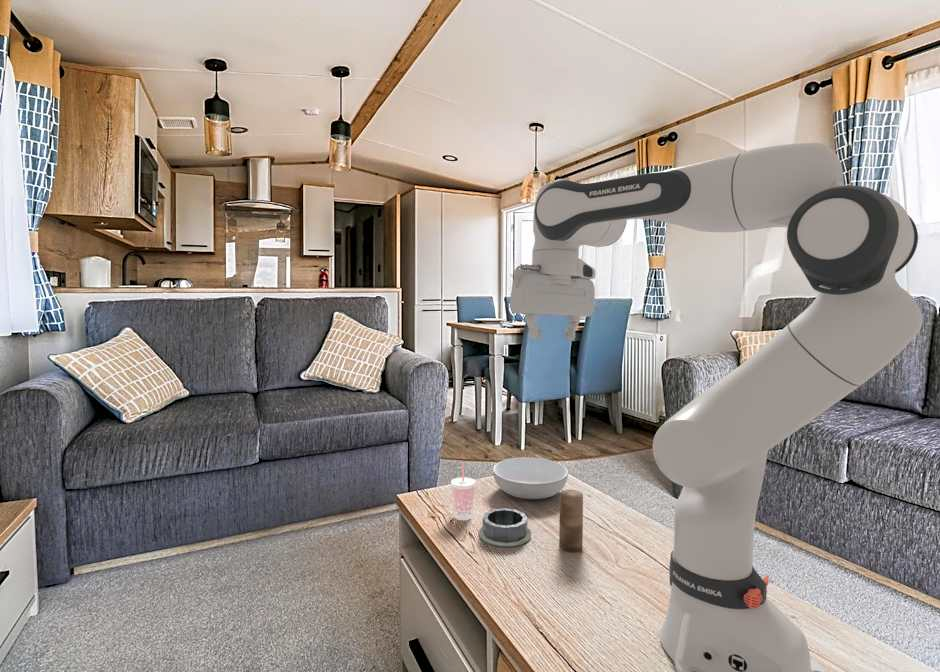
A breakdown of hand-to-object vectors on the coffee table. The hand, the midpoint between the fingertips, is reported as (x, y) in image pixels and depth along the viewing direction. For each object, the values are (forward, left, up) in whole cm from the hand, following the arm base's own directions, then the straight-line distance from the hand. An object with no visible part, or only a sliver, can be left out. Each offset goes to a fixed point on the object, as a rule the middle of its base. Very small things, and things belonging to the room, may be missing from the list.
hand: (552, 338), depth 100 cm
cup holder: (+17, -5, -47) cm, 50 cm away
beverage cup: (+31, -5, -47) cm, 56 cm away
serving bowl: (+29, -29, -47) cm, 62 cm away
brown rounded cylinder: (+3, -11, -47) cm, 48 cm away
